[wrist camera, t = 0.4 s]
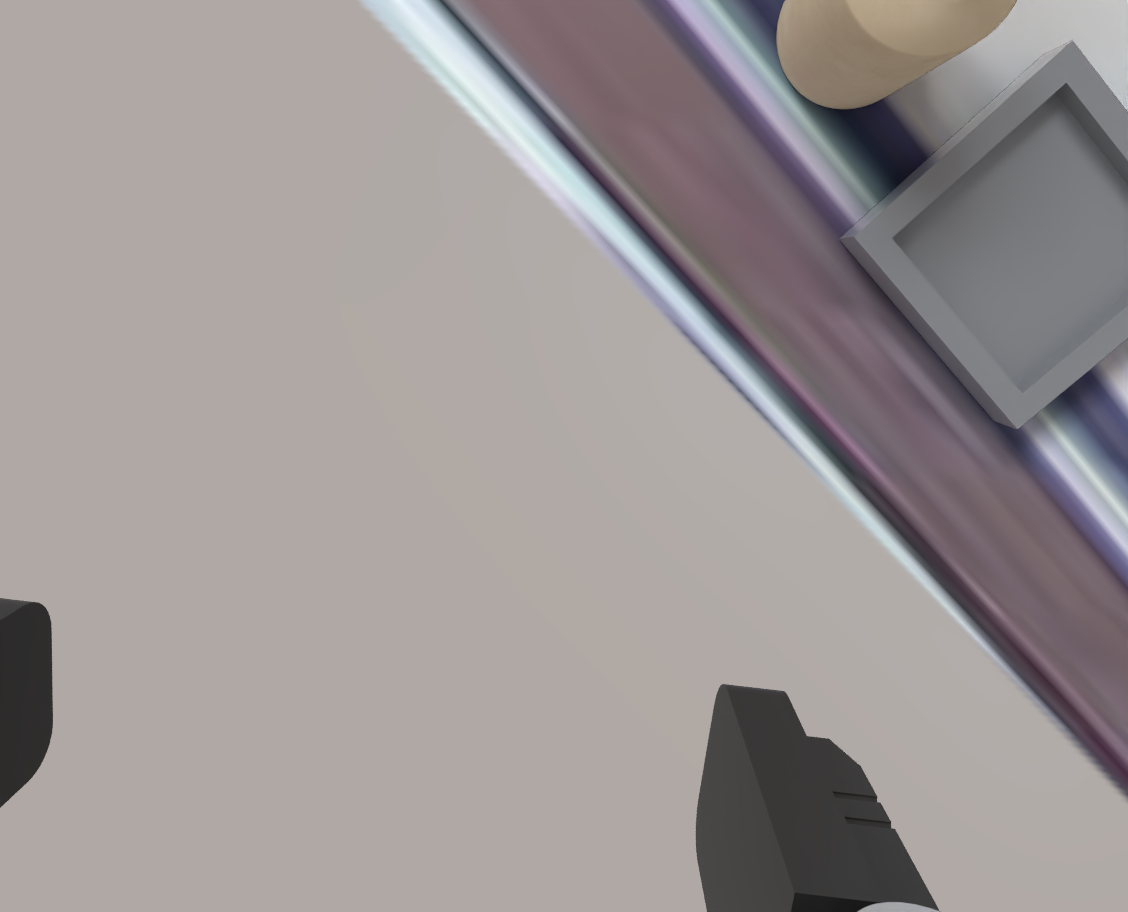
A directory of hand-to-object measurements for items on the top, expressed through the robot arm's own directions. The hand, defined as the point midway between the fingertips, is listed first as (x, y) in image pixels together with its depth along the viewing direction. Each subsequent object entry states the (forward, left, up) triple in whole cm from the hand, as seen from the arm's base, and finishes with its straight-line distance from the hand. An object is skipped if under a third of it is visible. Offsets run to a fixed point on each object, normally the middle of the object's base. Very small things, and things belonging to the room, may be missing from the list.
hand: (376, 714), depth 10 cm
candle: (-15, +11, -27) cm, 33 cm away
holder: (-8, +19, -27) cm, 34 cm away
